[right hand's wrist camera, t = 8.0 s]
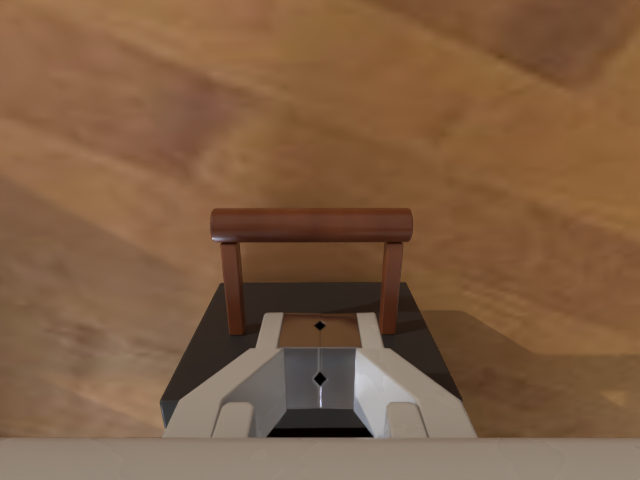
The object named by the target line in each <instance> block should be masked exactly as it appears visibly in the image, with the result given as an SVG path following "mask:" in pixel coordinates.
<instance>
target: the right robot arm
mask: <svg viewBox="0 0 640 480" xmlns="http://www.w3.org/2000/svg"><path fill="white" fill-rule="evenodd" d="M309 408H331V409H354V412H355V413H356V414H357V416H358V417H359V418H360V420H361V421H362V422H363V424H364V425H365V426H366V427H367V429H368V430H369V431H370V433H371V434H372V435H373V437H374V438H266V437H267V436H268V434H269V433H270V432H271V430H272V429H273V428H274V426H275V425H276V424H277V423H278V421H279V420H280V419H281V417H282V416H283V415H284V414H285V412H286V409H309ZM0 480H640V438H478V436H477V434H476V432H475V430H474V427H473V425H472V423H471V421H470V419H469V417H468V415H467V412H466V410H465V408H464V406H463V404H462V402H461V400H459V399H458V398H457V397H455V396H454V395H453V394H451V393H450V392H449V391H447V390H446V389H444V388H443V387H442V386H440V385H439V384H438V383H436V382H435V381H434V380H432V379H431V378H430V377H428V376H427V375H425V374H424V373H423V372H421V371H420V370H419V369H417V368H416V367H415V366H413V365H412V364H411V363H409V362H408V361H406V360H405V359H404V358H402V357H401V356H400V355H398V354H397V353H396V352H394V351H393V350H392V349H390V348H384V344H383V341H382V337H381V333H380V329H379V325H378V321H377V318H376V314H375V313H374V312H368V313H336V314H320V313H283V312H280V313H265V315H264V317H263V321H262V325H261V329H260V333H259V337H258V340H257V344H256V348H250V349H249V350H247V351H246V352H244V353H243V354H242V355H240V356H239V357H238V358H236V359H235V360H234V361H232V362H231V363H229V364H228V365H227V366H225V367H224V368H223V369H221V370H220V371H219V372H217V373H216V374H214V375H213V376H212V377H210V378H209V379H208V380H206V381H205V382H204V383H202V384H201V385H199V386H198V387H197V388H195V389H194V390H193V391H191V392H190V393H189V394H187V395H186V396H184V397H183V398H182V399H180V400H179V402H178V404H177V406H176V408H175V411H174V413H173V415H172V417H171V419H170V421H169V423H168V425H167V428H166V430H165V432H164V434H163V436H162V438H0Z"/></svg>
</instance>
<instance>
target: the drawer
mask: <svg viewBox="0 0 640 480" xmlns="http://www.w3.org/2000/svg"><path fill="white" fill-rule="evenodd" d="M210 232H211V237H212V239H213V241H214V242H216V243H217V242H222V243H221V245H220V248H221V258H222V268H223V278H224V283H220V285H219V287H218V289H217V290H216V292H215V294H214V296H213V298H212V300H211V302H210V304H209V306H208V308H207V310H206V312H205V314H204V316H203V318H202V320H201V322H200V324H199V326H198V328H197V330H196V331H195V333H194V335H193V337H192V339H191V341H190V343H189V345H188V347H187V349H186V351H185V353H184V355H183V357H182V359H181V361H180V363H179V365H178V367H177V369H176V371H175V372H174V374H173V376H172V378H171V380H170V382H169V384H168V386H167V388H166V390H165V392H164V394H163V396H162V398H161V400H160V406H161V411H162V417H163V422H164V427H165V429H166V428H167V425H168V423H169V421H170V419H171V417H172V415H173V413H174V411H175V408H176V406H177V404H178V402H179V400H180V399H182V398H183V397H184V396H186V395H187V394H189V393H190V392H191V391H193V390H194V389H195V388H197V387H198V386H199V385H201V384H202V383H204V382H205V381H206V380H208V379H209V378H210V377H212V376H213V375H214V374H216V373H217V372H219V371H220V370H221V369H223V368H224V367H225V366H227V365H228V364H229V363H231V362H232V361H234V360H235V359H236V358H238V357H239V356H240V355H242V354H243V353H244V352H246V351H247V350H249V349H250V348H256V344H257V340H258V337H259V333H260V329H261V325H262V321H263V317H264V315H265V313H280V312H283V313H320V314H336V313H368V312H374V313H375V314H376V318H377V321H378V325H379V329H380V333H381V337H382V341H383V344H384V348H390V349H392V350H393V351H394V352H396V353H397V354H398V355H400V356H401V357H402V358H404V359H405V360H406V361H408V362H409V363H411V364H412V365H413V366H415V367H416V368H417V369H419V370H420V371H421V372H423V373H424V374H425V375H427V376H428V377H430V378H431V379H432V380H434V381H435V382H436V383H438V384H439V385H440V386H442V387H443V388H444V389H446V390H447V391H449V392H450V393H451V394H453V395H454V396H455V397H457V398H458V399H459V400H461V402H462V397H461V395H460V393H459V391H458V389H457V387H456V385H455V383H454V381H453V379H452V377H451V375H450V372H449V370H448V368H447V366H446V364H445V362H444V360H443V358H442V356H441V354H440V352H439V350H438V348H437V346H436V344H435V342H434V340H433V338H432V335H431V333H430V331H429V329H428V327H427V325H426V323H425V321H424V319H423V317H422V315H421V313H420V311H419V309H418V307H417V305H416V303H415V301H414V298H413V296H412V294H411V292H410V290H409V288H408V286H407V284H406V283H405V282H400V277H401V266H402V254H403V243H402V242H409V241H410V239H411V237H412V232H413V218H412V213H411V210H410V209H408V208H215V209H213V211H212V213H211V218H210ZM239 242H384V257H383V271H382V282H365V283H243V280H242V267H241V255H240V243H239ZM266 438H374V437H373V435H372V434H371V433H370V431H369V430H368V429H367V427H366V426H365V425H364V424H363V422H362V421H361V420H360V418H359V417H358V416H357V414H356V413H355V412H354V409H331V408H309V409H286V412H285V414H284V415H283V416H282V417H281V419H280V420H279V421H278V423H277V424H276V425H275V426H274V428H273V429H272V430H271V432H270V433H269V434H268V436H267V437H266Z"/></svg>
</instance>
